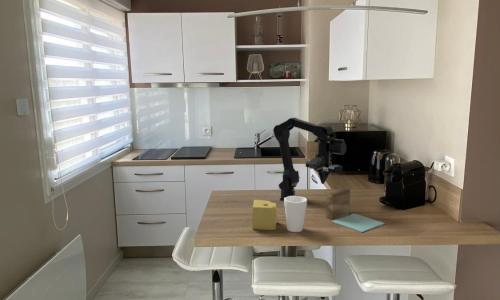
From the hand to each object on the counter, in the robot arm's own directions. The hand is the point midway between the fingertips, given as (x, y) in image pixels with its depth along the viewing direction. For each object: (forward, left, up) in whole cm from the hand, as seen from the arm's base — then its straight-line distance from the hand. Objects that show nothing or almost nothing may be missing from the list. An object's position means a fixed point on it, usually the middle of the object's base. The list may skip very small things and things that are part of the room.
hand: (322, 183), depth 191 cm
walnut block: (+10, -9, -12) cm, 18 cm away
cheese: (-15, -35, -12) cm, 40 cm away
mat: (+20, -14, -12) cm, 27 cm away
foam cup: (-2, -33, -12) cm, 35 cm away
